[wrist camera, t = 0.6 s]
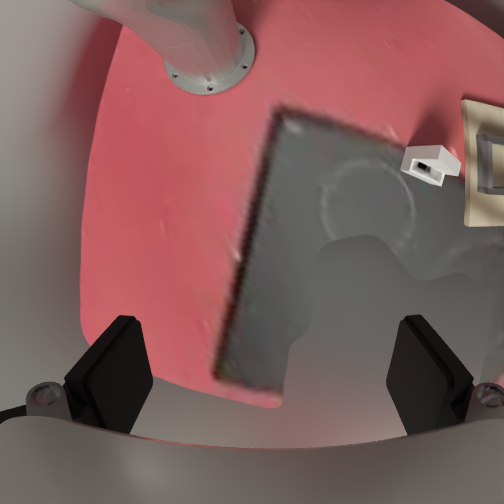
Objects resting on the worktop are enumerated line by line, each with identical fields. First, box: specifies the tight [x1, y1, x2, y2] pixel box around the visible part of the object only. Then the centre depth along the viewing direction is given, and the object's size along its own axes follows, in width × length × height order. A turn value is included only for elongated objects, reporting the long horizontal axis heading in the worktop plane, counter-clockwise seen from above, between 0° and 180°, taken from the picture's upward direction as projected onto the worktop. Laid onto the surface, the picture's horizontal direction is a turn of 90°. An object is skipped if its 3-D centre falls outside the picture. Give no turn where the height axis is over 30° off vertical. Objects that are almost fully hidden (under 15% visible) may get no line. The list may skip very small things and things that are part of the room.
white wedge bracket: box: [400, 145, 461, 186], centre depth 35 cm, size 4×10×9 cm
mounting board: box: [461, 99, 504, 227], centre depth 35 cm, size 20×14×4 cm
